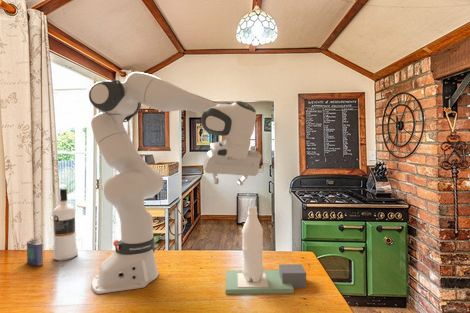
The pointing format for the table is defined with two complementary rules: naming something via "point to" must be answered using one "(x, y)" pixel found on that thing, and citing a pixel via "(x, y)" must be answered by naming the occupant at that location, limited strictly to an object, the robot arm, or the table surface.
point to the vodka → (64, 229)
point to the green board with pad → (267, 281)
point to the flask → (34, 253)
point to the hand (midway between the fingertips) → (227, 184)
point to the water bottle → (252, 246)
